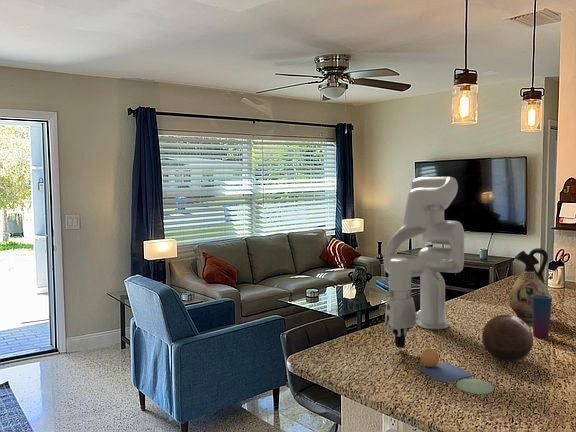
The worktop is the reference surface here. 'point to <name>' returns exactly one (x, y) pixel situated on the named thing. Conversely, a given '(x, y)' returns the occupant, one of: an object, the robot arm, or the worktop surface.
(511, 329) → the wooden sphere
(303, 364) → the worktop surface
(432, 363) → the egg
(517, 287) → the ceramic jug
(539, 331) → the cup
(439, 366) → the blue square tile
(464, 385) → the far disc
